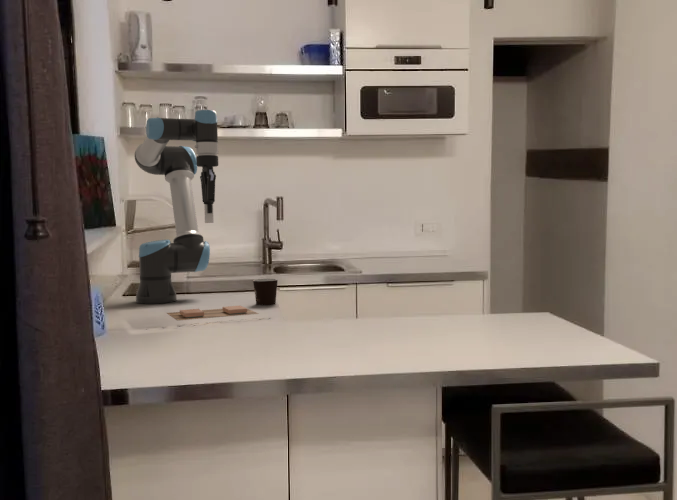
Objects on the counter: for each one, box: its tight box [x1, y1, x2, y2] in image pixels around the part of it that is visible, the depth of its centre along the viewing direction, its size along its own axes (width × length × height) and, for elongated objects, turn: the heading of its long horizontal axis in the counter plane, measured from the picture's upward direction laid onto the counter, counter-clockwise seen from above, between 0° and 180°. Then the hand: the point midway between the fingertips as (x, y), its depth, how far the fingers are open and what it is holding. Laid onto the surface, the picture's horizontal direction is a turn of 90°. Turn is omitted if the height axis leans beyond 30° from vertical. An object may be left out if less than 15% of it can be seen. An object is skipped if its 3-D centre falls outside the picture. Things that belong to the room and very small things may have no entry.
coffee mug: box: [252, 278, 278, 306], centre depth 251 cm, size 12×9×10 cm
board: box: [166, 308, 259, 325], centre depth 230 cm, size 17×26×2 cm, turn 114°
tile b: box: [221, 305, 248, 314], centre depth 231 cm, size 2×6×8 cm
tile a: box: [179, 308, 204, 318], centre depth 225 cm, size 2×6×8 cm
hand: (209, 222), depth 249 cm, fingers closed
